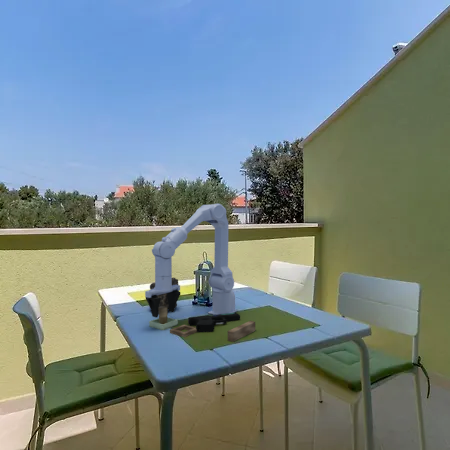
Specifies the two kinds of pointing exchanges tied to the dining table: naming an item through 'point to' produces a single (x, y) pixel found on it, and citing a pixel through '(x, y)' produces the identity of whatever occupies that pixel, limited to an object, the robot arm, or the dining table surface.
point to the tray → (165, 326)
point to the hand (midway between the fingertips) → (163, 314)
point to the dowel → (163, 315)
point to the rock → (164, 296)
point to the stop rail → (241, 331)
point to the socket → (184, 327)
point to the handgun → (211, 321)
